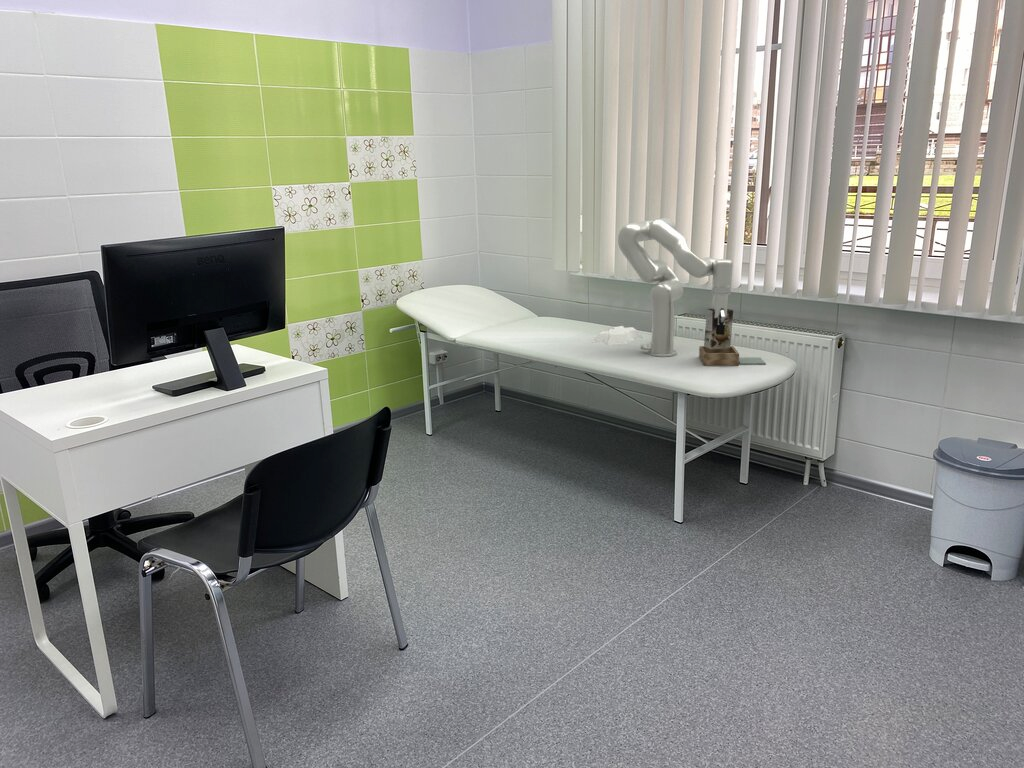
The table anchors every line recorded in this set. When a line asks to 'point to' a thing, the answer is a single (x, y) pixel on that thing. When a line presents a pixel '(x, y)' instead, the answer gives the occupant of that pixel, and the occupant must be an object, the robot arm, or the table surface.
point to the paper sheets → (617, 335)
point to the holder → (719, 356)
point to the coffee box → (710, 331)
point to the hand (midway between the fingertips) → (718, 331)
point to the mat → (751, 361)
